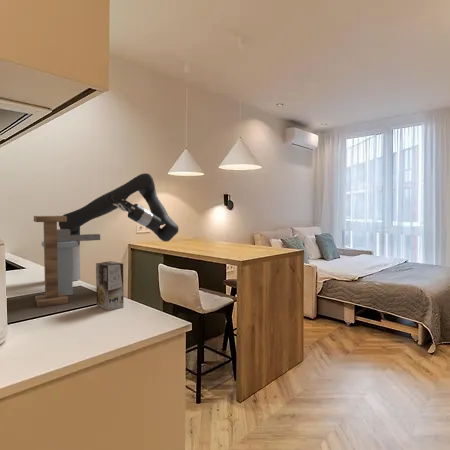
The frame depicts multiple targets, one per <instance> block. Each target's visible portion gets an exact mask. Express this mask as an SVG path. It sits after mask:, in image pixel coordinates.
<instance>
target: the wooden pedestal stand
mask: <svg viewBox="0 0 450 450" xmlns="http://www.w3.org/2000/svg"><path fill="white" fill-rule="evenodd" d="M33 222H36V223H43V241H44V247H43V253H44V254H43V255H44V256H43V258H44V260H43V261H44V294H39V295H35V303H36V305H37V308H41V307H42V308H43V307H50V306H56V305H63V304H69V297H68V295H65V294H64V293H58V260H57V229H58V223H59V222H67V216H63V215H34V216H33Z"/></svg>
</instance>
